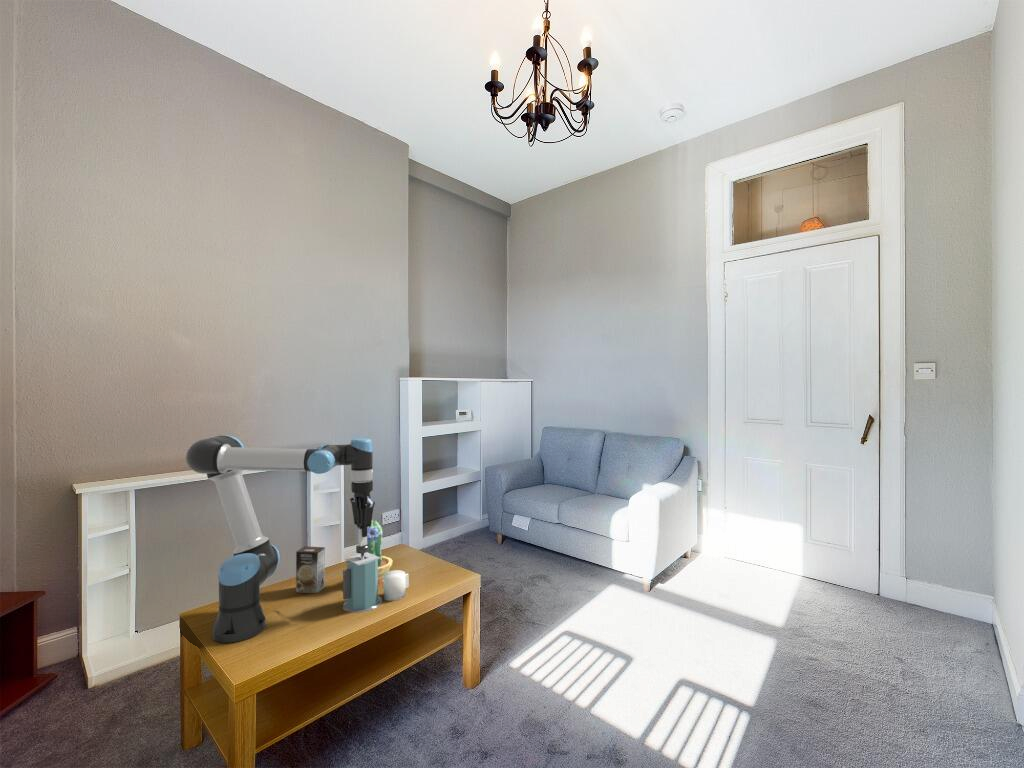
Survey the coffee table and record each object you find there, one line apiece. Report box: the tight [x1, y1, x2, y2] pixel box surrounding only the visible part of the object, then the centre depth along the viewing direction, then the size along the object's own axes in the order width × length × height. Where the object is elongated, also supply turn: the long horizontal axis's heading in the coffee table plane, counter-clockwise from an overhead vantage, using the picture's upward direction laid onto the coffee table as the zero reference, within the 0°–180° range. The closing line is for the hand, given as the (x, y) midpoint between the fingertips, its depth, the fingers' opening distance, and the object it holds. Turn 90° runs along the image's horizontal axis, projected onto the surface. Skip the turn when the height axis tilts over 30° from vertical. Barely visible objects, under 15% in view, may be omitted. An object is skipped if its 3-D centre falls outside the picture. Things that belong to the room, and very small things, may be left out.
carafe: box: [342, 552, 380, 610], centre depth 170 cm, size 12×10×16 cm
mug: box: [383, 569, 410, 602], centre depth 177 cm, size 10×8×9 cm
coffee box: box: [295, 545, 326, 594], centre depth 185 cm, size 9×6×16 cm
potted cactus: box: [367, 520, 393, 584], centre depth 191 cm, size 15×15×25 cm
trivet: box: [342, 595, 384, 613], centre depth 171 cm, size 14×14×1 cm
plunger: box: [355, 544, 369, 560], centre depth 171 cm, size 8×8×16 cm
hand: (362, 545), depth 171 cm, fingers closed
